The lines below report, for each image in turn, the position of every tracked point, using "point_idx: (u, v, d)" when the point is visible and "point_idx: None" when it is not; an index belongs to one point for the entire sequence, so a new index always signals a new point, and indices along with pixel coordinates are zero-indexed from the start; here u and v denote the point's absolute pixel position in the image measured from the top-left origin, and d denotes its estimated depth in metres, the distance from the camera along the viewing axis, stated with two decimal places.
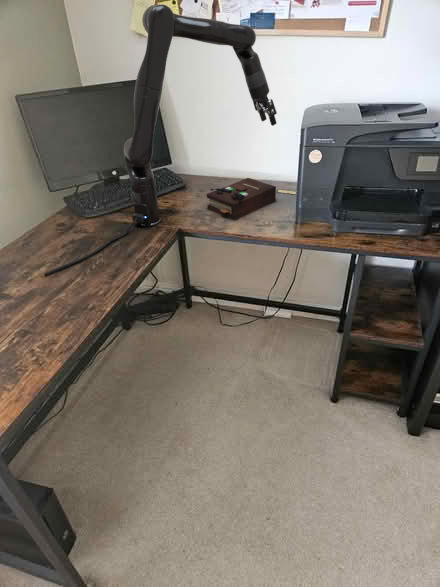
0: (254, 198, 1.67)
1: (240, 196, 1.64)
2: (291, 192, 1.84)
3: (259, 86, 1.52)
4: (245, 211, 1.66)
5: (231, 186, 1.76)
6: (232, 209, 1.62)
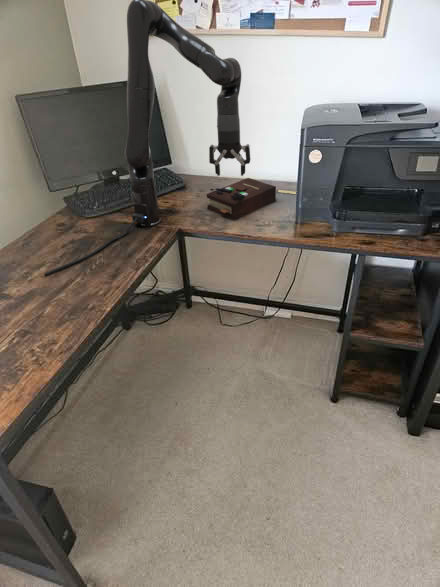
0: (254, 198, 1.67)
1: (240, 196, 1.64)
2: (291, 192, 1.84)
3: None
4: (245, 211, 1.66)
5: (231, 186, 1.76)
6: (232, 209, 1.62)
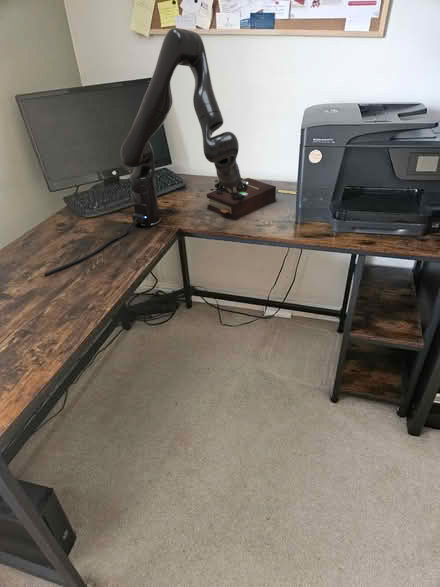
0: (254, 198, 1.67)
1: (240, 196, 1.64)
2: (291, 192, 1.84)
3: None
4: (245, 211, 1.66)
5: None
6: (232, 209, 1.62)
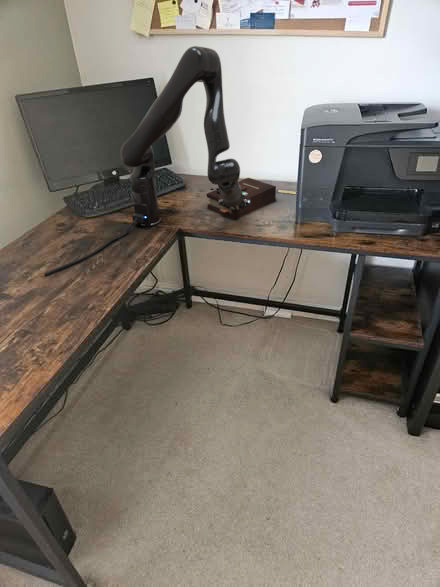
0: (254, 198, 1.67)
1: None
2: (291, 192, 1.84)
3: None
4: (245, 211, 1.67)
5: None
6: (232, 209, 1.62)
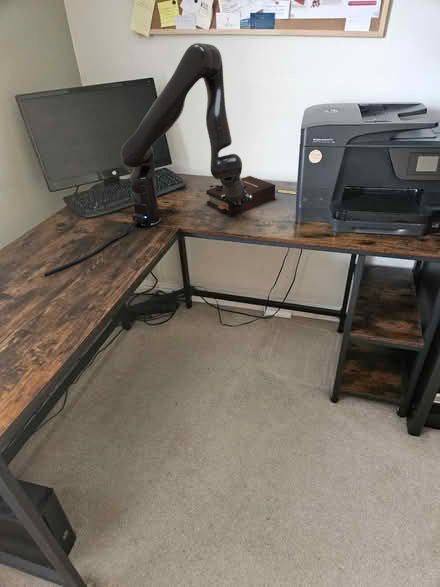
0: (252, 196, 1.69)
1: None
2: (291, 192, 1.84)
3: None
4: (242, 208, 1.69)
5: None
6: (229, 206, 1.65)
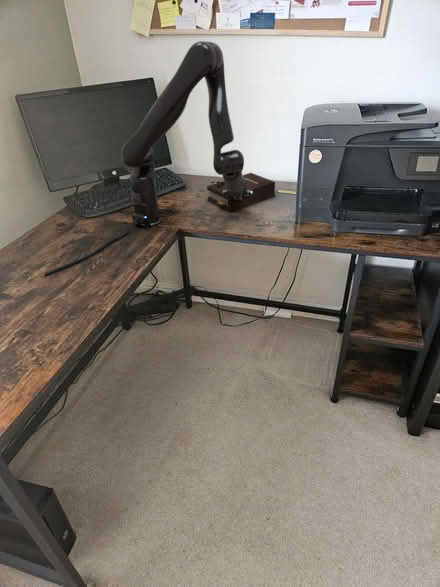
0: None
1: None
2: (291, 192, 1.84)
3: None
4: (242, 204, 1.72)
5: None
6: (228, 201, 1.68)
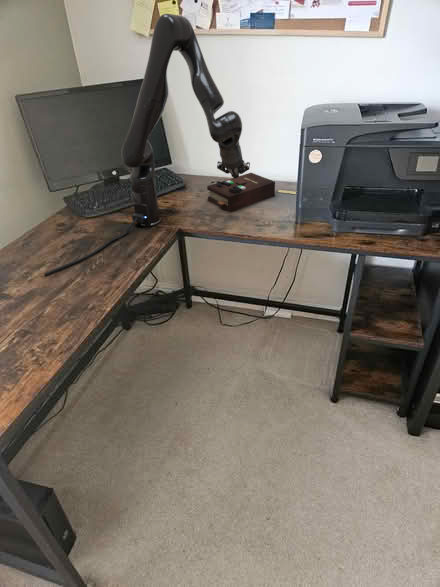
0: (251, 192, 1.72)
1: (237, 189, 1.70)
2: (291, 192, 1.84)
3: None
4: (242, 204, 1.72)
5: (232, 180, 1.82)
6: (228, 201, 1.68)
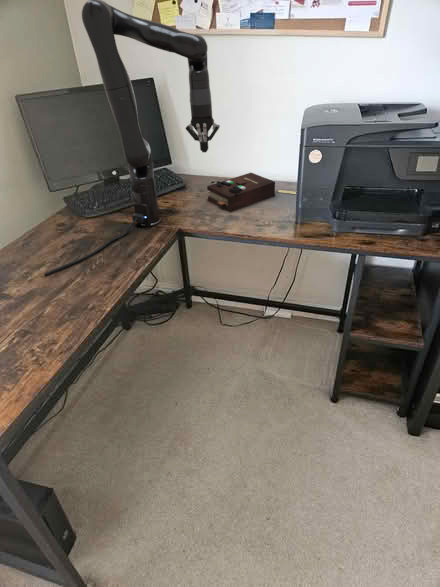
0: (251, 192, 1.72)
1: (237, 189, 1.70)
2: (291, 192, 1.84)
3: None
4: (242, 204, 1.72)
5: (232, 180, 1.82)
6: (228, 201, 1.68)
